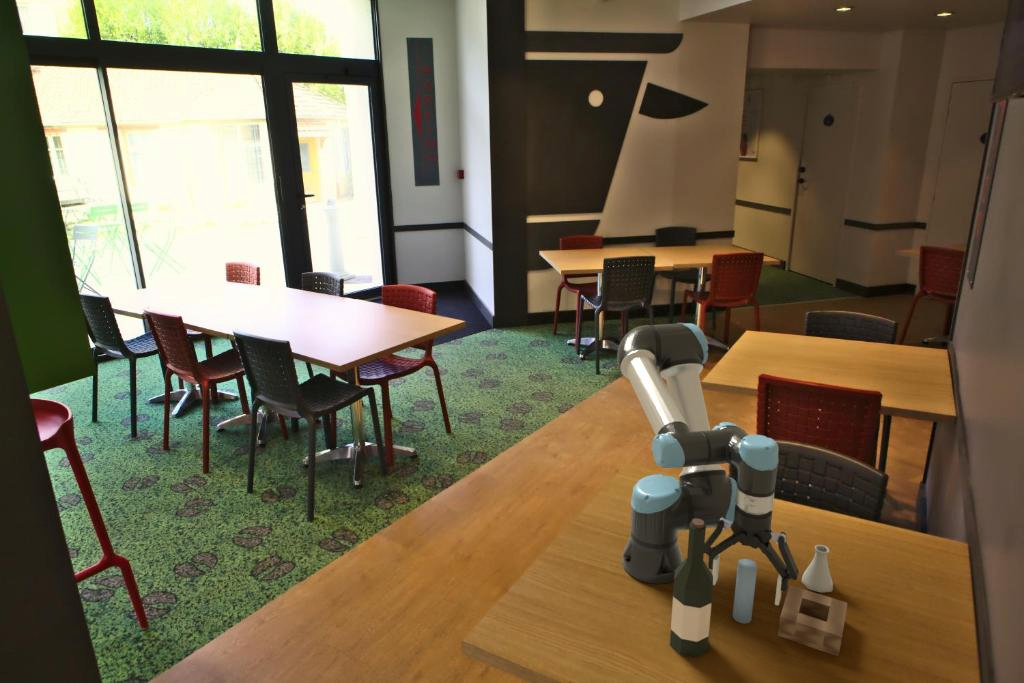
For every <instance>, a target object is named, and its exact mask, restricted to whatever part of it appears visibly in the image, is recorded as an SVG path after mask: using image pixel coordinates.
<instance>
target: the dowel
mask: <svg viewBox="0 0 1024 683" xmlns="http://www.w3.org/2000/svg"><path fill="white" fill-rule="evenodd" d="M736 567H737V568H736V578H735V590H734V599H733V600H734V601H733V608H732V609H733V610H732V618H733V619H734V620H735V621H736V622H738V623H741V624H749V623H750V622H751V621H752V616H753V609H754V598H755V590H756V582H757V581H756V580H757V573H758V572H757V571H758V564H757V562H756V561H754V560H752V559H749V558H741V559H739V560H738V561H737V566H736Z"/></svg>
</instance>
